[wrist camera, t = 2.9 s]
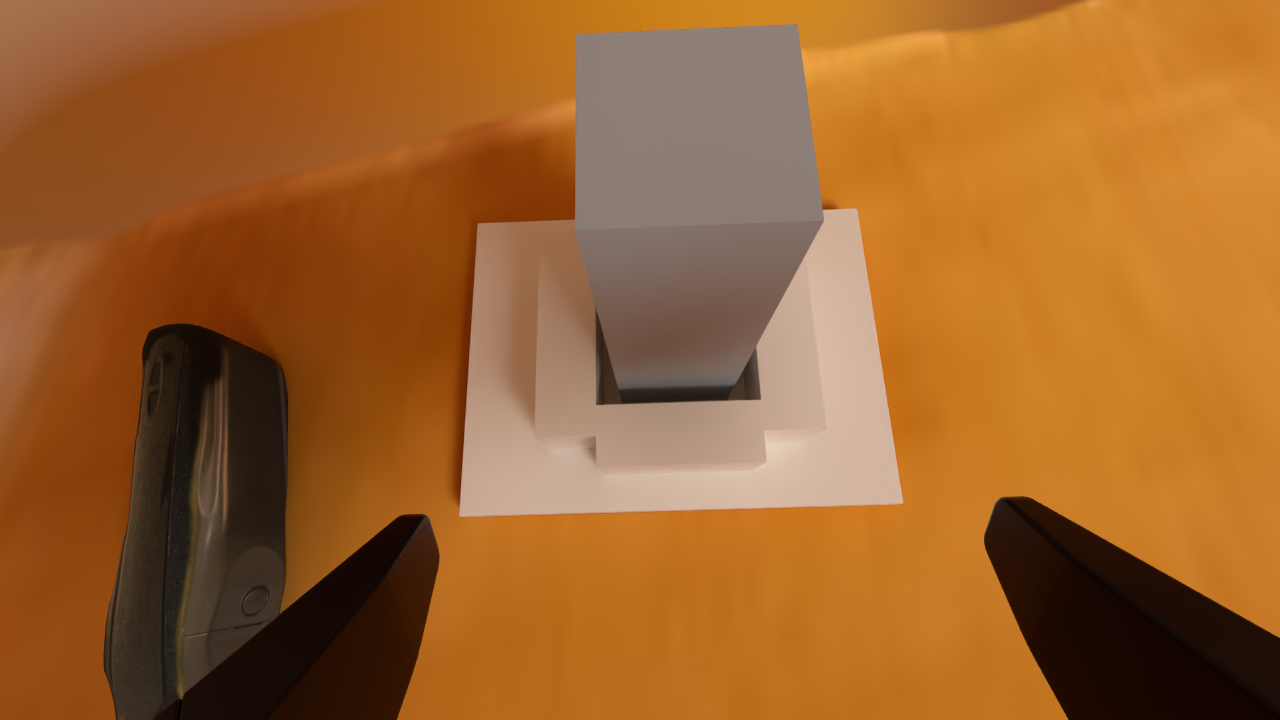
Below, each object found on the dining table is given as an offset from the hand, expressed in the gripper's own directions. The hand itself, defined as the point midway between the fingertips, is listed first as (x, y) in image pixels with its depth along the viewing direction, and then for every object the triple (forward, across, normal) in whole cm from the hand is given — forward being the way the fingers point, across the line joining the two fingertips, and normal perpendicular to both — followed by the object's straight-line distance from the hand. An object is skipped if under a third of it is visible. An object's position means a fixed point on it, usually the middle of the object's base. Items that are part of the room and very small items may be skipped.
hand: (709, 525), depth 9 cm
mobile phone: (+9, +16, +9) cm, 21 cm away
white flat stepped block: (+14, 0, +4) cm, 14 cm away
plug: (+13, 0, +4) cm, 13 cm away
